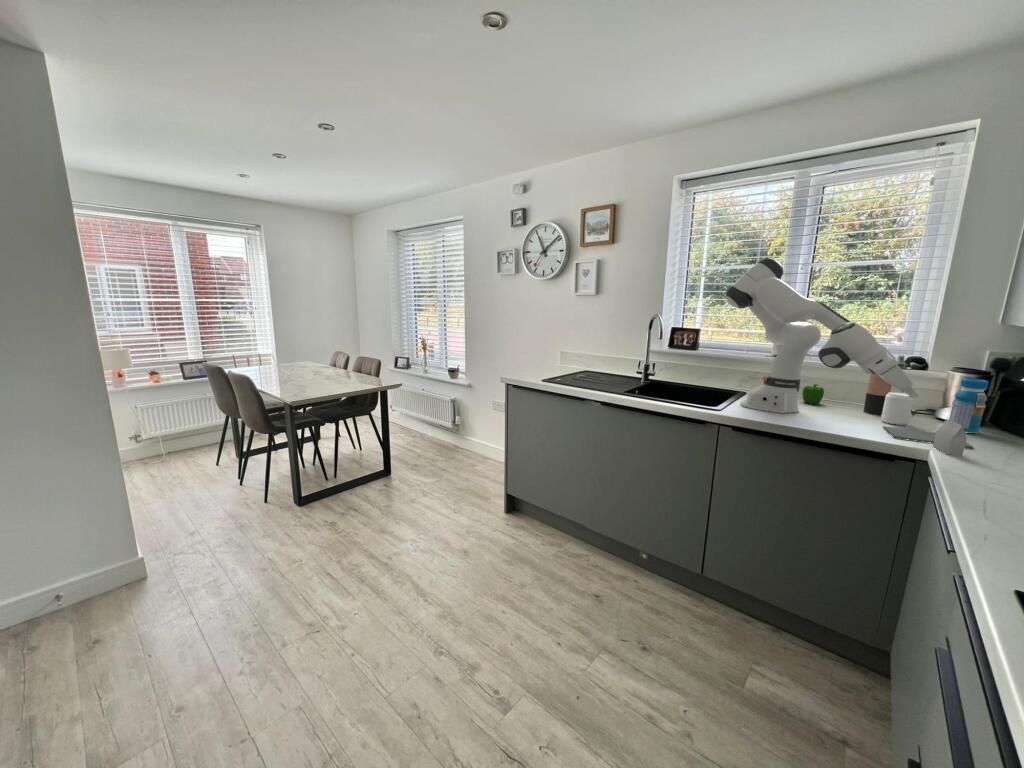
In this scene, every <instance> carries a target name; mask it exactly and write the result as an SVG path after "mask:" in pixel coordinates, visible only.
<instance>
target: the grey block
mask: <svg viewBox="0 0 1024 768" xmlns="http://www.w3.org/2000/svg"><path fill="white" fill-rule="evenodd" d="M935 433H936V435H935V439H934V443H933V444H932V448H933V447H934V448H936V449H937V450H936V451H938V450H939V451H938V452H940V451H941V452H940V453H942V452H943V453H942V454H944V453H945V455H946V456H951V457H960V458H961V457H963V454H964V451H965V448H964V447H965V443H966V442H967V436H966V433H965V432H964V428H963V426H962V425H960V424H957V423H954V422H951V421H949V419H945V420H944V422H943V423H942V425H941V426H940V427H939V428H938V429H937V430H936V432H935Z"/></svg>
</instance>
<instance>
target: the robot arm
mask: <svg viewBox="0 0 1024 768" xmlns="http://www.w3.org/2000/svg"><path fill="white" fill-rule="evenodd" d="M784 272H785V271H784V268H783V266H782V265H781V263H780V262H779V261H778V260H776V259H774V258H772V257H765V258H762V259H760V260H759V261H757V264H755V265H753V266H752V267H750V268H749V269H748V270H747V271H746V272H744V273H743V274H742V275H741V276H740V278H739V279H737V280H736V281H735V282H734V284H733V285H731V286H730V287H728V288H727V290H726V291H725V297H726V298H727V299H726V300H727V301H728V303H729V304H730V305H731V306H733V307H735V308H737V309H746V308H748V309H749V310H750V311H751V313H753V315H754V316H755V317H756V318H757V319H758V320H759V322H760V323H761V324H762V325H763V327H764V330H765V338H766V339H767V340H768V341H769V342H771V343H772V344H775V345H777V346H781V349H780V351H779V353H777V355H776V356H774V358H772V361H771V367H770V368H771V369H770V375H769V376H767V375H764V376H762V380H763V384H761V385H758V386H757V387H755V388H753V389H751V390H749V392H748V394H747V396H746V399H743V400H741V401H740V406H742V407H744V408H748V409H753V410H760V411H765V412H766V411H767V412H773V413H780V414H787V413H798V412H800V409H799V399H798V398H799V392H800V388H801V383H802V382H801V373H802V370H803V369H802V368H803V364H804V361H805V359H806V357H807V355H808V353H809V351H810V350H811V349H812V348H813V347H815V346H816V345H817V344H818V343H820V340H821V337H822V333H821V330H820V328H819V327H818V326H817V325H815V324H812V323H809V322H805V321H804V320H813V321H816V322H818V323H820V324H821V325H823V326H824V327H825V328H827V329H829V330H830V334H829V335H830V336H829V338H828V340H827V341H826V342H825V344H824V345H823V346H822V347H821V349H819V351H818V359H819V360H820V362H821V363H822V364H823V365H825V366H826V367H827V368H830V369H842V368H843V367H845V366H847V365H848V364H849V363H850V362H855V363H856V365H858V367H860V368H861V370H863V372H864V373H866V375H870V374H874V375H878V376H880V377H881V378H882V379H883V380H884V381H886V382H888V383H889V384H891V385H892V386H893V387H894V388H896V389H897V390H899V391H900V393H905V394H908V395H909V396H910V397H911V398H913V399H914V398H917V397H918V393H917V392H916V391H915V390H914V389H913V386H914V384H913V383H914V382H912V380H911V379H910V377H909V376H908V375H907V374H906V372H904V370H903V369H902V368H901V366H899V362H898V361H897V359H896V356H895V355H894V354H892V353H891V352H890V350H888V349H887V348H886V347H885V346H884V345H882V344H880V343H879V342H878V341H877V340H876V337H874V335H873V334H871V332H870V331H868V329H866V328H864V327H863V326H862V325H860V324H859V323H857V322H854V321H850V320H849V319H847V318H845V317H844V316H843V315H841V314H840V313H838V312H836V310H834V309H833V308H831V307H829V306H828V305H826V304H824V303H823V302H821V301H820V300H817V299H814V298H813V299H812V298H811V299H810V298H807V297H806V296H804V295H802V294H800V293H799V292H797V291H796V290H795V288H793V287H792V286H790V285H789V284H787V283H786V282H784V281H782V277H783V275H784Z"/></svg>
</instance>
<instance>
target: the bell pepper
mask: <svg viewBox="0 0 1024 768" xmlns="http://www.w3.org/2000/svg"><path fill="white" fill-rule="evenodd" d="M818 385H819V384H818V383H816V382H815V383H814V384H813V385H812V386H811V385H805V387H803V389H802V400H803V402H804V403H806V404H811V405H818V404H820V403H821V401H822V399H823V397H824V396H825V395H824V394H825V390H824V387H819V386H818Z"/></svg>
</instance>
